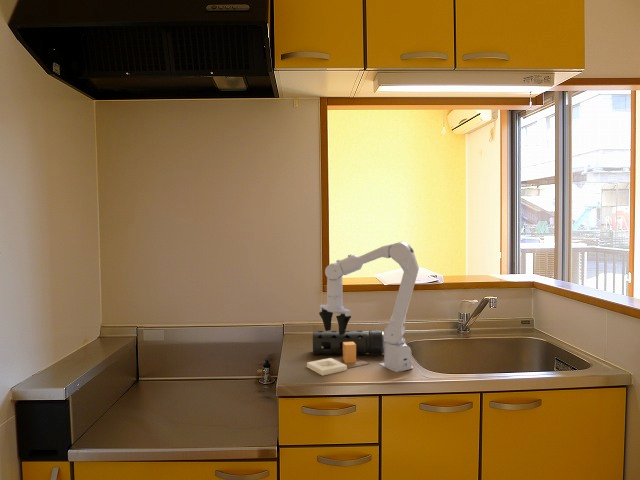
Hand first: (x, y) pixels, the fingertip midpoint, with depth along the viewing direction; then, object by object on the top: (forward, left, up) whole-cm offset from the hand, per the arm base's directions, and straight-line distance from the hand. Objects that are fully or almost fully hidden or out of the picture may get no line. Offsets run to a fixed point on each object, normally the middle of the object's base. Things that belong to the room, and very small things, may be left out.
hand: (334, 332), depth 167 cm
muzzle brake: (+8, -12, -6) cm, 15 cm away
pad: (-5, -3, -10) cm, 12 cm away
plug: (-5, -3, -10) cm, 11 cm away
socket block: (-7, +8, -10) cm, 15 cm away
